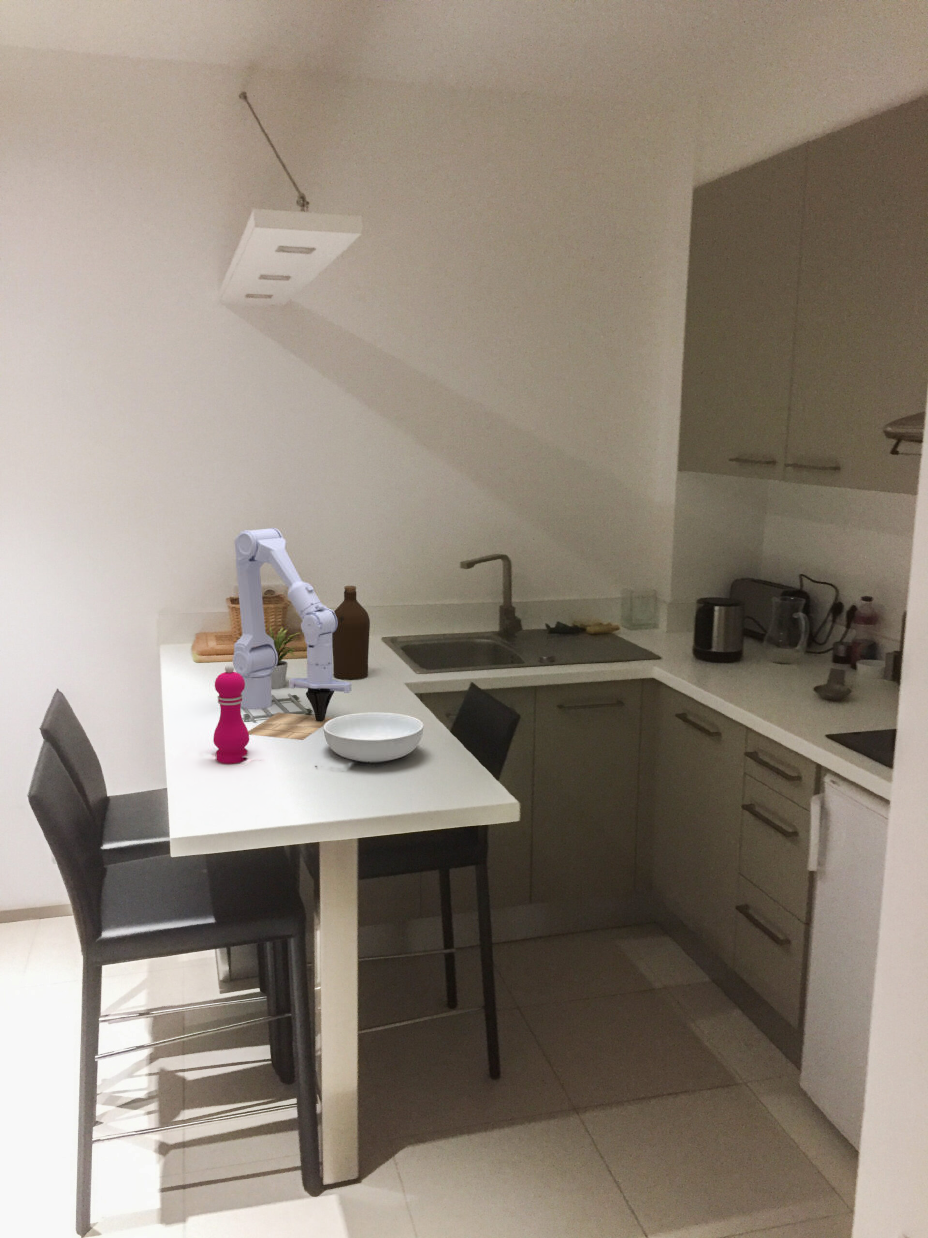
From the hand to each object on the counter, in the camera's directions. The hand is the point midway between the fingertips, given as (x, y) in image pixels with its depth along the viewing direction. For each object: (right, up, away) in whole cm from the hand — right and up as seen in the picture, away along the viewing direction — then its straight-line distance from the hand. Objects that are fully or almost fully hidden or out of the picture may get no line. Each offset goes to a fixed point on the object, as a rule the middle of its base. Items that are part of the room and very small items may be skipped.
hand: (320, 720), depth 233 cm
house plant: (-16, +5, +34) cm, 38 cm away
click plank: (-5, -1, 0) cm, 5 cm away
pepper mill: (-15, -6, -24) cm, 29 cm away
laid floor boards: (-7, -3, -8) cm, 11 cm away
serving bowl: (+14, -6, -20) cm, 25 cm away
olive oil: (+2, +7, +47) cm, 48 cm away
